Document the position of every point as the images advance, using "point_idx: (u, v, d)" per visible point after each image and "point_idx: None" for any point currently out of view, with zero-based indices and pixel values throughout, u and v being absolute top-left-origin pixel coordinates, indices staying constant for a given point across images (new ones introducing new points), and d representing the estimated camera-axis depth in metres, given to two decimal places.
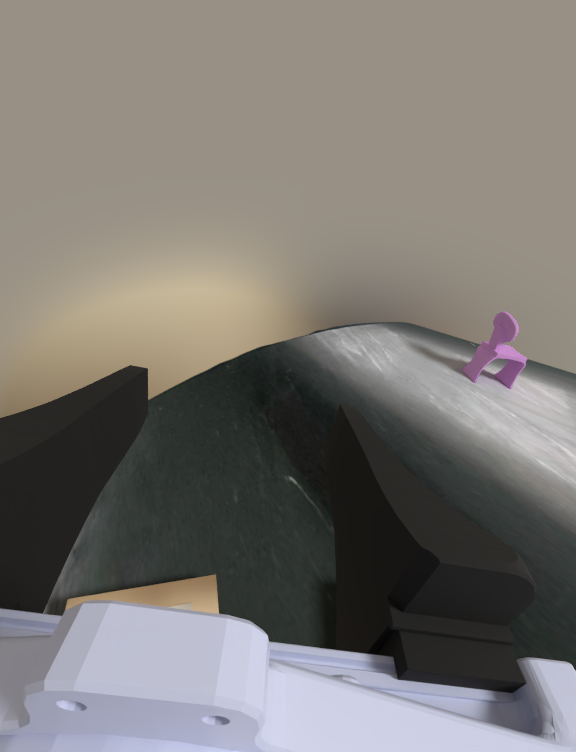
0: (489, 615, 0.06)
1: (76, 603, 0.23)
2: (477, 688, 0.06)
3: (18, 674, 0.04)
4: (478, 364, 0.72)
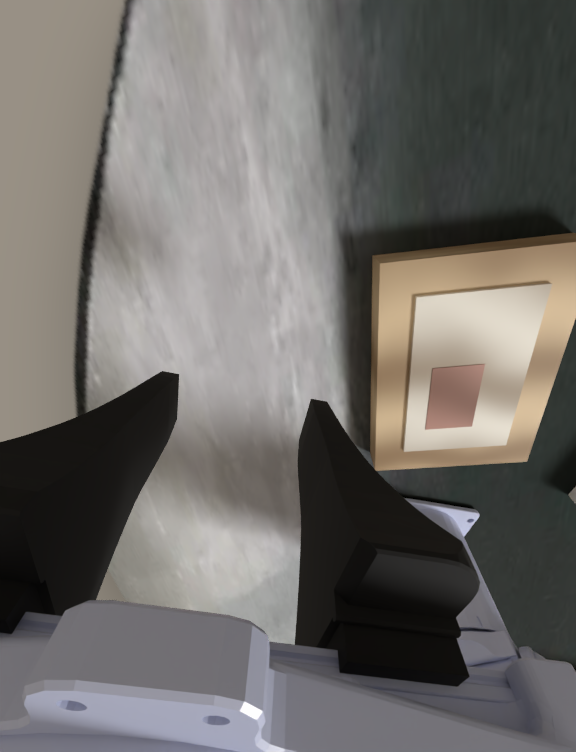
0: (435, 607, 0.06)
1: (392, 270, 0.16)
2: (422, 681, 0.06)
3: (18, 674, 0.04)
4: None
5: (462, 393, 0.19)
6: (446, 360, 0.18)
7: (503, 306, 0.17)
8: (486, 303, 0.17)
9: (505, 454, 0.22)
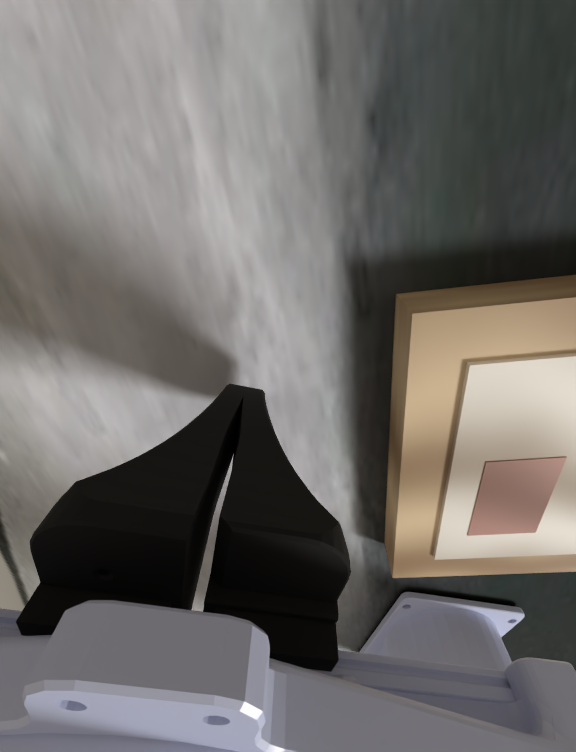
0: (311, 591, 0.06)
1: (432, 324, 0.10)
2: None
3: (18, 674, 0.04)
4: None
5: (527, 493, 0.13)
6: (508, 451, 0.12)
7: None
8: None
9: None
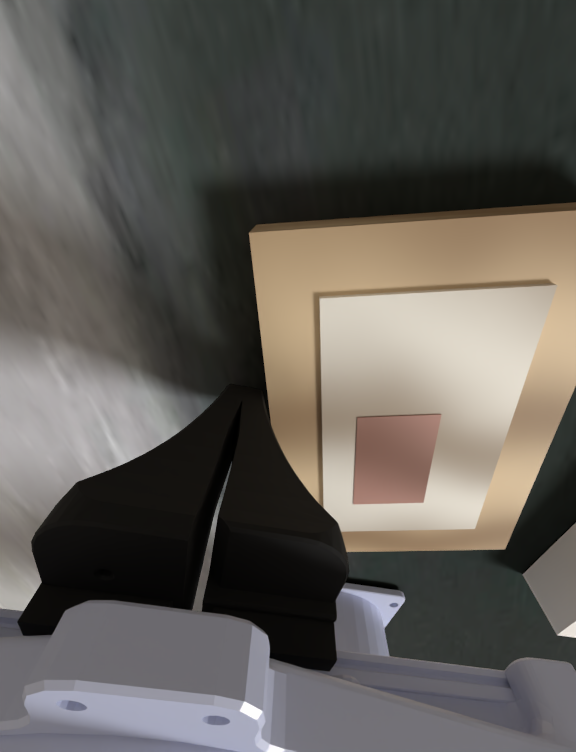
0: (310, 590, 0.06)
1: (273, 247, 0.09)
2: None
3: (18, 674, 0.04)
4: None
5: (407, 455, 0.12)
6: (379, 405, 0.11)
7: (471, 322, 0.10)
8: (442, 315, 0.09)
9: (474, 539, 0.15)
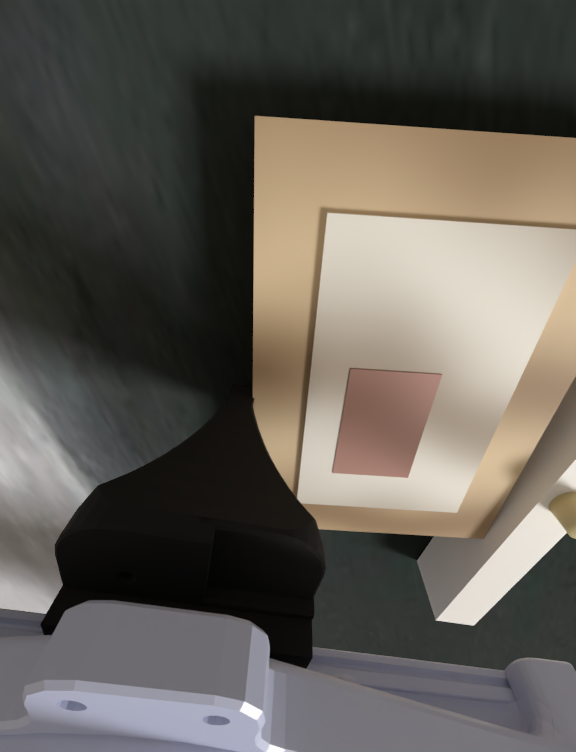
0: (287, 587, 0.06)
1: (281, 139, 0.08)
2: None
3: (18, 674, 0.04)
4: None
5: (398, 421, 0.11)
6: (376, 356, 0.10)
7: (490, 264, 0.09)
8: (461, 251, 0.08)
9: (453, 525, 0.14)
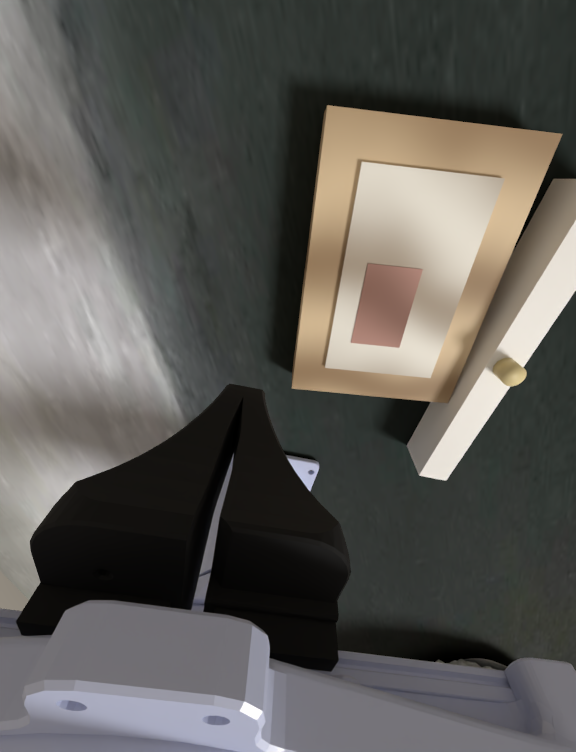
0: (311, 591, 0.06)
1: (340, 119, 0.14)
2: None
3: (18, 674, 0.04)
4: None
5: (395, 303, 0.18)
6: (384, 255, 0.17)
7: (451, 197, 0.15)
8: (434, 188, 0.15)
9: (428, 390, 0.21)
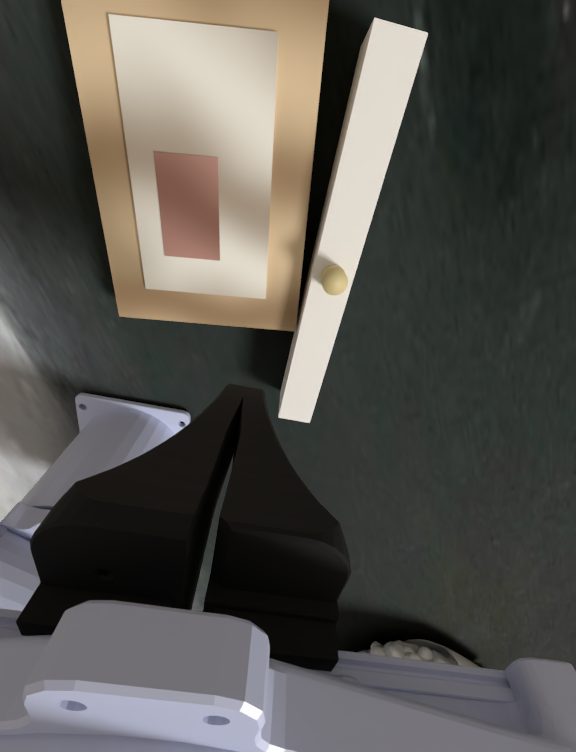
0: (311, 590, 0.06)
1: None
2: None
3: (18, 674, 0.04)
4: None
5: (199, 203, 0.16)
6: (169, 140, 0.14)
7: (223, 59, 0.13)
8: (201, 47, 0.13)
9: (269, 316, 0.19)
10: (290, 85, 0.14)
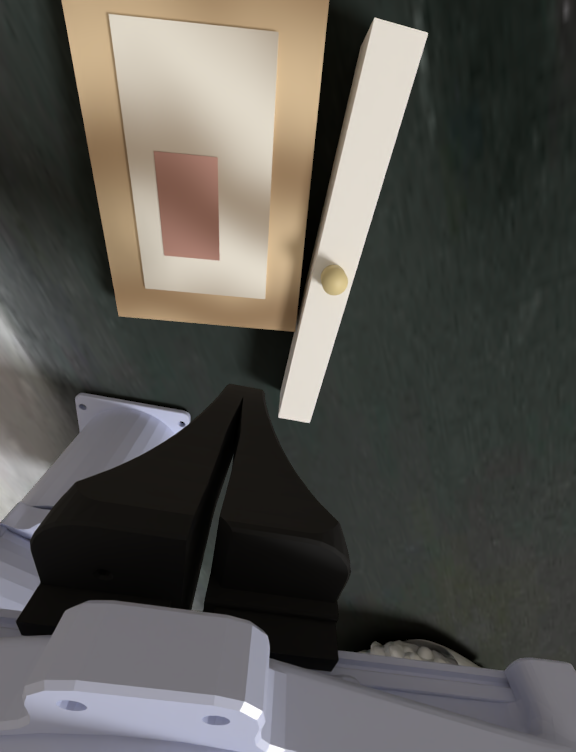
0: (311, 590, 0.06)
1: None
2: None
3: (18, 674, 0.04)
4: None
5: (199, 203, 0.16)
6: (169, 140, 0.14)
7: (223, 59, 0.13)
8: (201, 47, 0.13)
9: (269, 316, 0.19)
10: (290, 85, 0.14)
